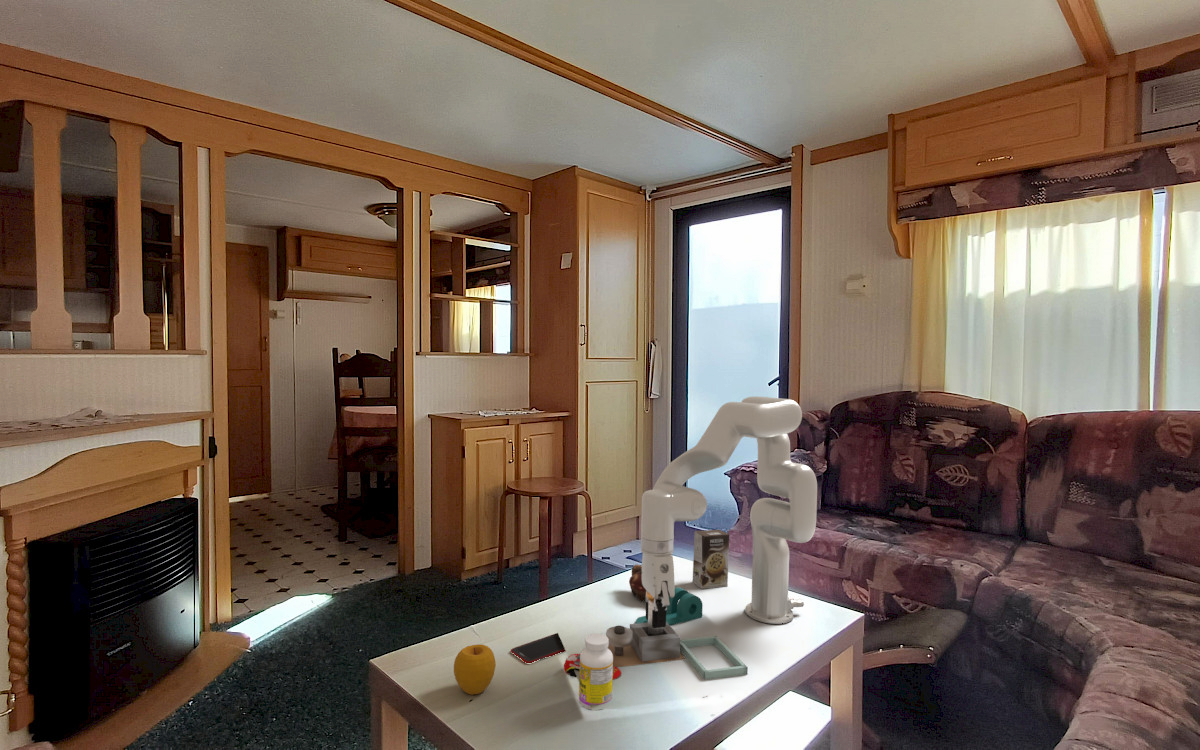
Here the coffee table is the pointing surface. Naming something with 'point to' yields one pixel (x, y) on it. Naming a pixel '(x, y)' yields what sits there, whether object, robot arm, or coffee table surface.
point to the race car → (574, 664)
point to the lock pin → (651, 630)
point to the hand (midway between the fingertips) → (655, 622)
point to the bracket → (680, 608)
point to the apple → (474, 668)
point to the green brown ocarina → (637, 583)
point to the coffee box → (711, 558)
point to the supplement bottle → (595, 671)
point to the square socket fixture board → (642, 645)
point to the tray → (714, 673)
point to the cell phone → (539, 648)
